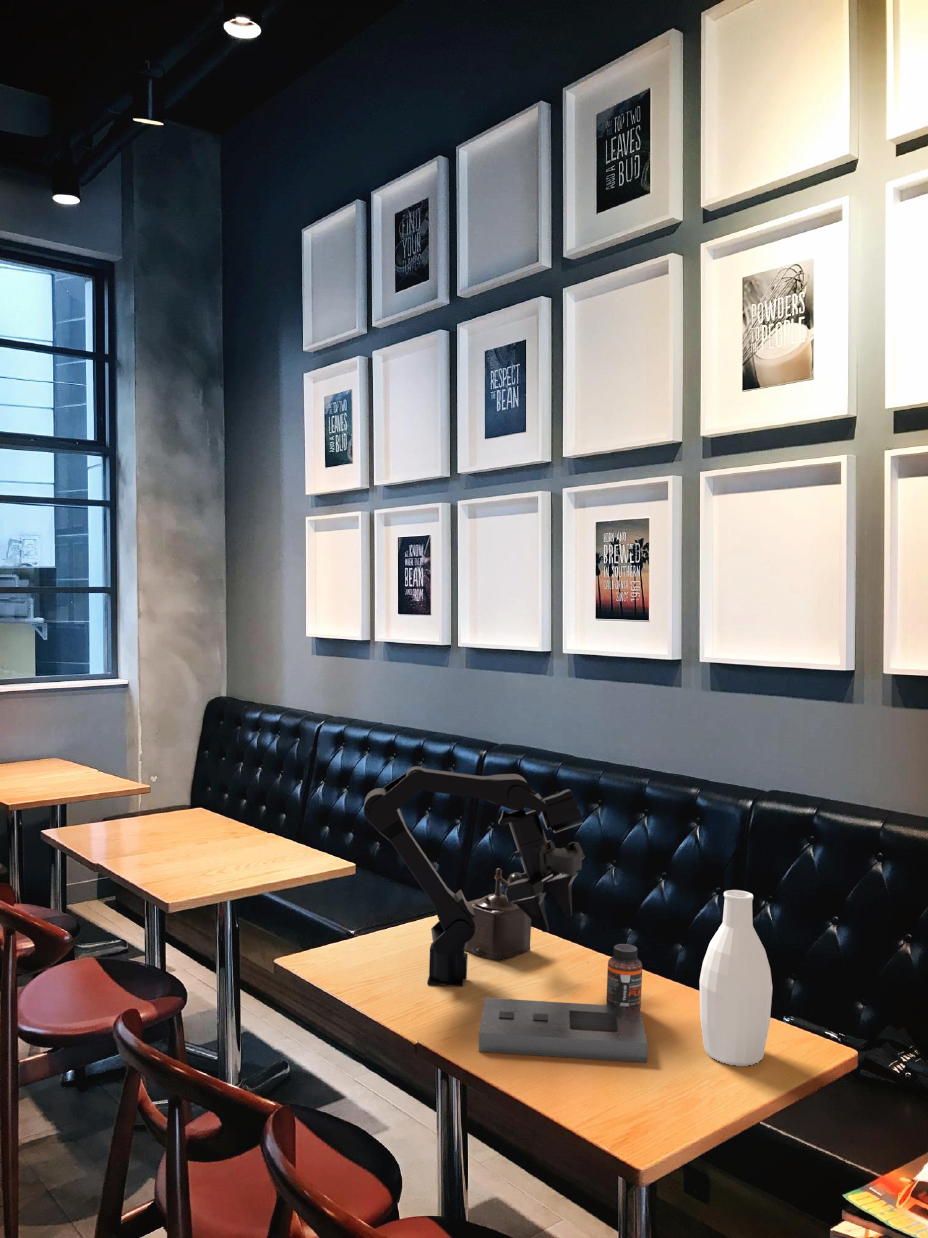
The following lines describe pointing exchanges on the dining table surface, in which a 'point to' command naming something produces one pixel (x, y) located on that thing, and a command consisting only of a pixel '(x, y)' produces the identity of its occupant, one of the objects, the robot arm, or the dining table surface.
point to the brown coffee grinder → (499, 925)
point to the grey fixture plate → (562, 1030)
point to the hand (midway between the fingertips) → (558, 923)
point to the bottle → (735, 987)
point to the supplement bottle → (624, 977)
